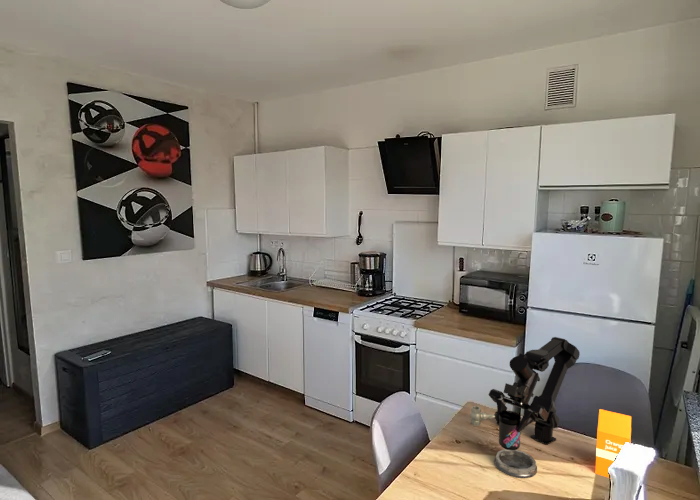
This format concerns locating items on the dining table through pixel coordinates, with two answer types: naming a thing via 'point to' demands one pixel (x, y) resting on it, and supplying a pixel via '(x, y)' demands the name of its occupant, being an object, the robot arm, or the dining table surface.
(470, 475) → the dining table surface
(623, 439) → the orange juice
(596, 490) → the dining table surface
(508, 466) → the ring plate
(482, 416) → the valve
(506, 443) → the supplement container
